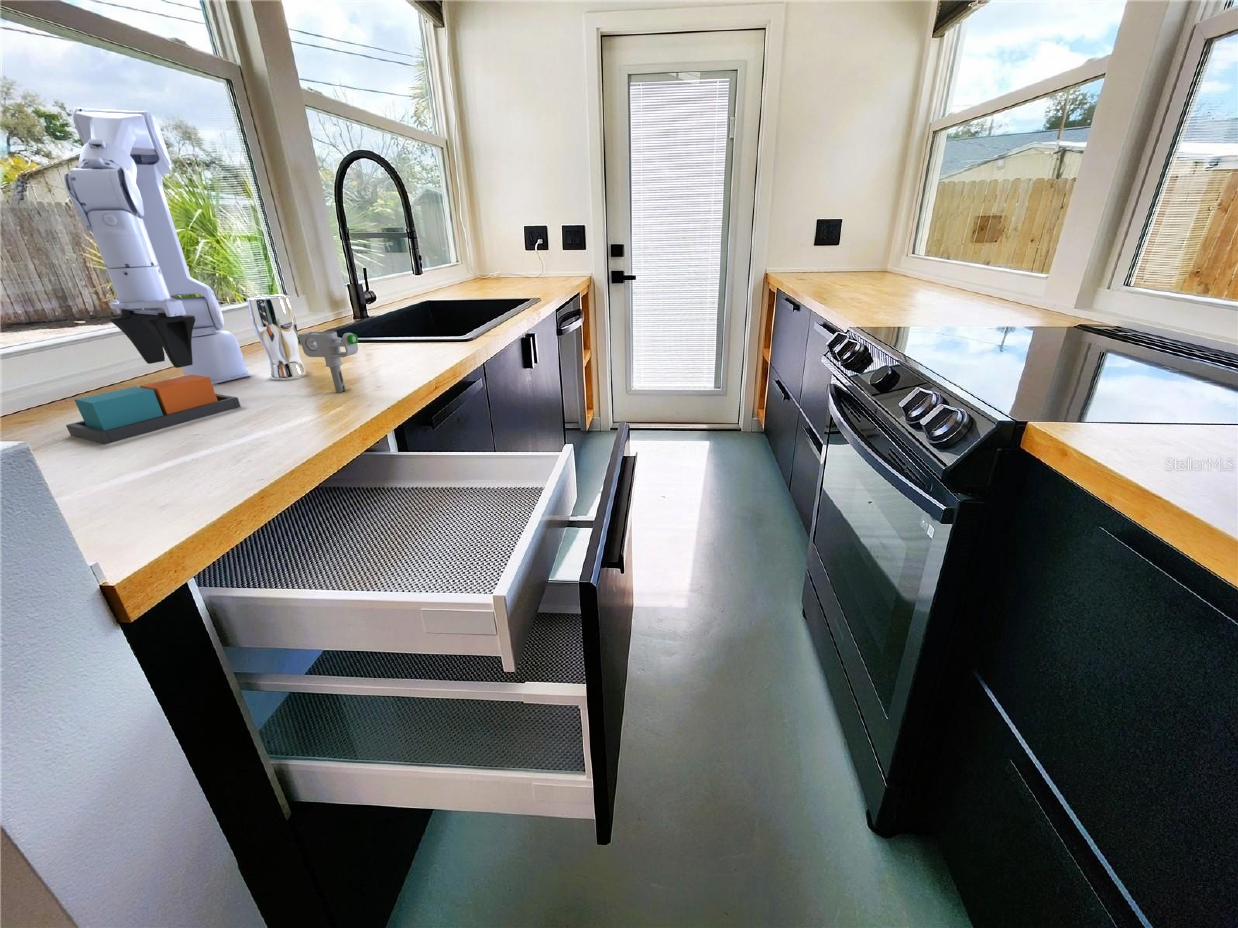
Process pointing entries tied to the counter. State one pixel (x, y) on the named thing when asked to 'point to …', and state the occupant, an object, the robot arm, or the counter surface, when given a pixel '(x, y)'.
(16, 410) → the counter surface
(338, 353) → the mechanical component
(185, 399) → the orange block
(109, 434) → the tray
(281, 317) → the beer glass
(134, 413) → the teal rectangular block
